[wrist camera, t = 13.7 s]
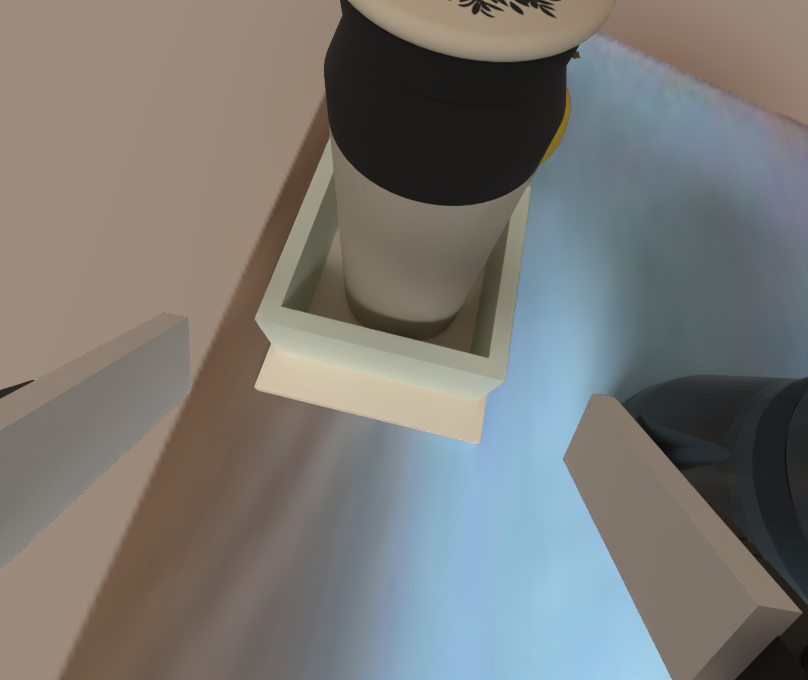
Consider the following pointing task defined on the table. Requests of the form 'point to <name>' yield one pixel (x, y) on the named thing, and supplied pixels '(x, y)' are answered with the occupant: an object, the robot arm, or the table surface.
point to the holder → (378, 351)
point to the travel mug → (439, 141)
